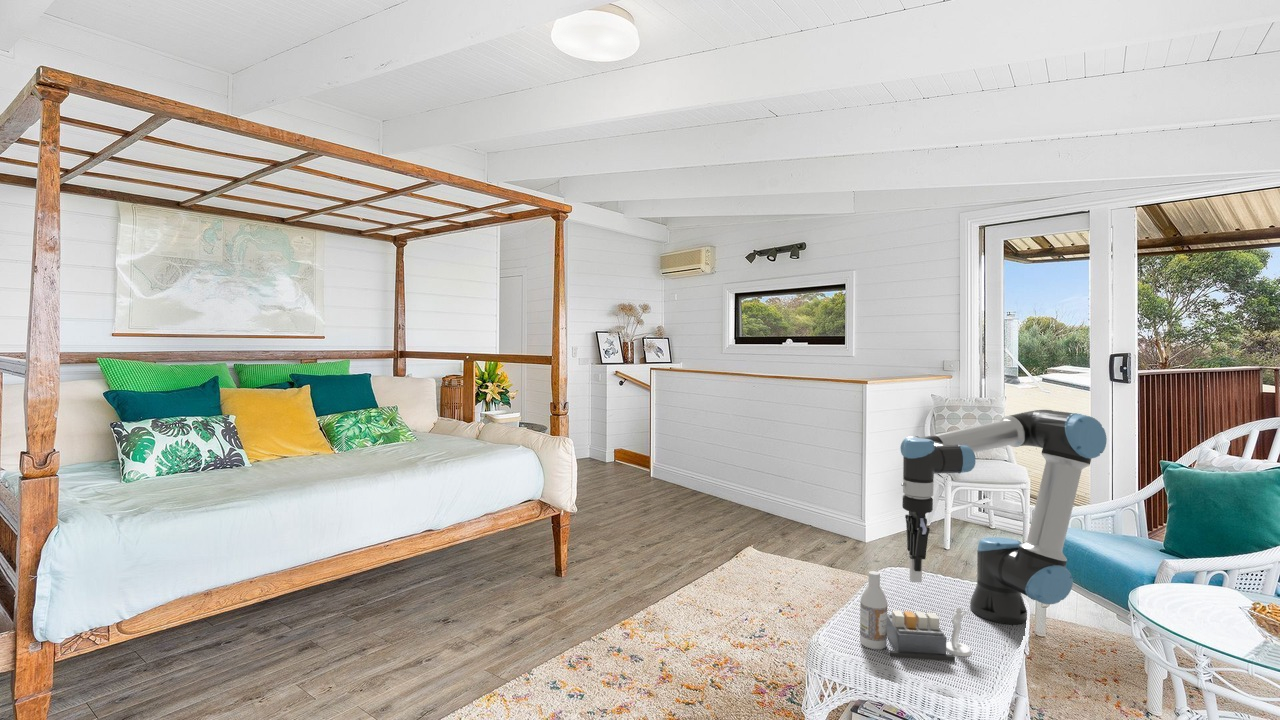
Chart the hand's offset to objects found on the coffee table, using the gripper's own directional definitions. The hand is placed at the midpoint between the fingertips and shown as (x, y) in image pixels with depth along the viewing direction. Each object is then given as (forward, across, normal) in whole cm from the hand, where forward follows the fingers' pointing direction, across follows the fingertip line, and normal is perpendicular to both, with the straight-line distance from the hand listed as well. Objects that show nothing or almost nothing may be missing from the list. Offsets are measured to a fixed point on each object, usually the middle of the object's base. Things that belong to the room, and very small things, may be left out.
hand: (915, 581), depth 166 cm
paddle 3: (+12, 0, +2) cm, 12 cm away
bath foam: (+19, 0, -11) cm, 22 cm away
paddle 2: (+12, 0, -1) cm, 12 cm away
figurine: (+19, 0, +11) cm, 22 cm away
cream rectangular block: (+12, 0, +5) cm, 13 cm away
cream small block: (+12, 0, -4) cm, 13 cm away
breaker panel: (+18, 0, 0) cm, 18 cm away
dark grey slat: (+18, +6, 0) cm, 19 cm away
